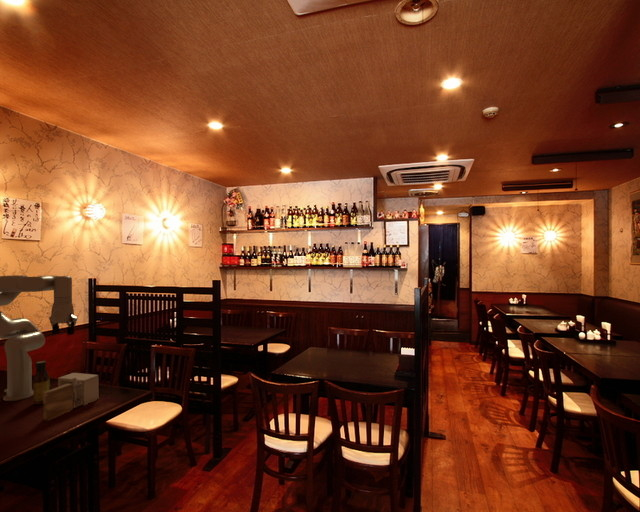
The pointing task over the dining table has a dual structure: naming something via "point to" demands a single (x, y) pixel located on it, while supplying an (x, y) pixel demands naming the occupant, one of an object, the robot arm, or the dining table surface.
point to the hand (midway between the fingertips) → (63, 334)
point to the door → (60, 400)
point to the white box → (88, 386)
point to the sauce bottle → (40, 382)
